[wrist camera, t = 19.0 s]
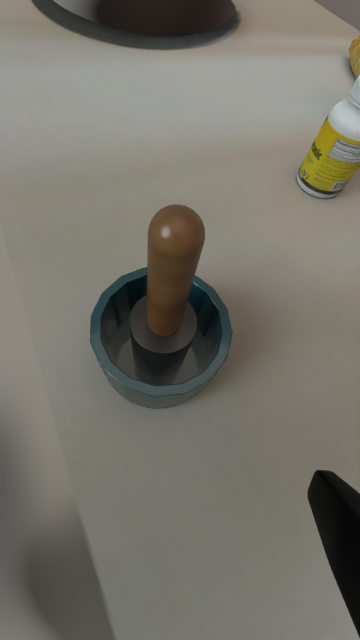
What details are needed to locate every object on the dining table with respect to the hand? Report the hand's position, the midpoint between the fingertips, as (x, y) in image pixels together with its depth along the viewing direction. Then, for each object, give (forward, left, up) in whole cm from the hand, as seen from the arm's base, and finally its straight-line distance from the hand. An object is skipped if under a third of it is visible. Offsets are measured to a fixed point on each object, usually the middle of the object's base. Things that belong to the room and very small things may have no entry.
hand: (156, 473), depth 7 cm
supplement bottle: (+30, +16, -11) cm, 36 cm away
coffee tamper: (+4, +6, -11) cm, 13 cm away
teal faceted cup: (+4, +6, -11) cm, 13 cm away
